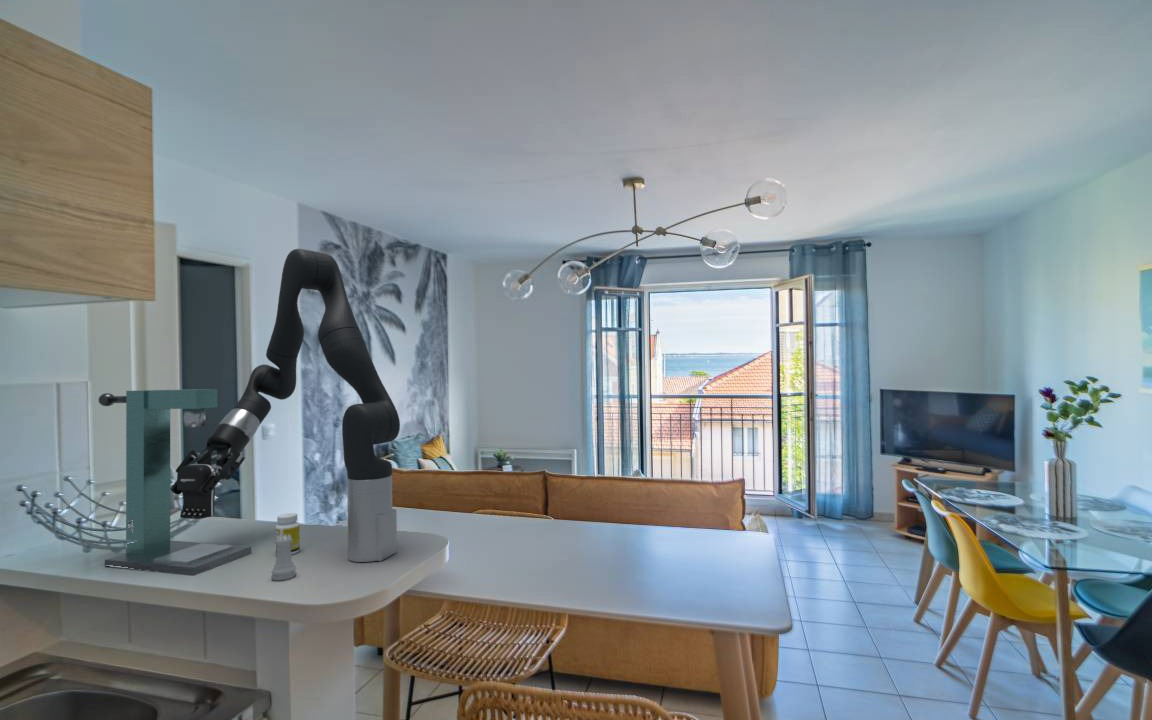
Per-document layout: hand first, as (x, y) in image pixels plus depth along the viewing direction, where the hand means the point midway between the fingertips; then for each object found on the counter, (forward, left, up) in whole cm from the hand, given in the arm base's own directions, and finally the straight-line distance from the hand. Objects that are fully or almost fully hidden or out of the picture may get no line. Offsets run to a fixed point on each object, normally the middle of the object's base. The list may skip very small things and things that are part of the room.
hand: (188, 493), depth 120 cm
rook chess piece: (-27, +3, -15) cm, 31 cm away
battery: (0, -2, -6) cm, 6 cm away
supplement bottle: (-16, -10, -15) cm, 24 cm away
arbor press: (+9, -1, -15) cm, 18 cm away
